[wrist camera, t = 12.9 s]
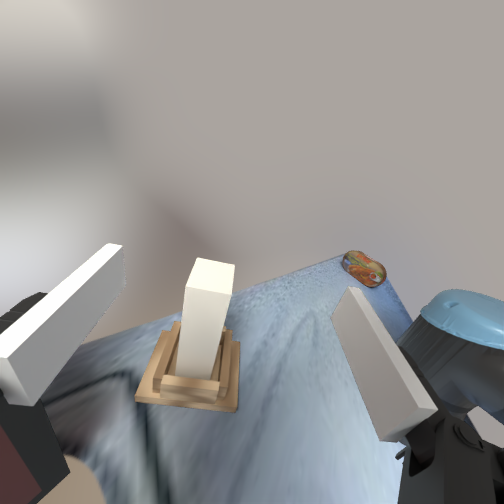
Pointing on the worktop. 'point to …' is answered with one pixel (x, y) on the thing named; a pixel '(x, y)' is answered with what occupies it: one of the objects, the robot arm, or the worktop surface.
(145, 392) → the wooden box
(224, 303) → the white rectangular block
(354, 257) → the tin
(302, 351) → the worktop surface
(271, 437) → the worktop surface
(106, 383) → the worktop surface
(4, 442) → the cleaning product box
